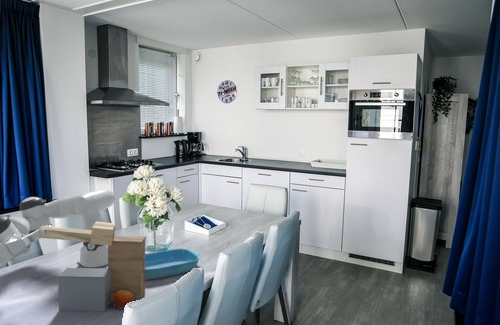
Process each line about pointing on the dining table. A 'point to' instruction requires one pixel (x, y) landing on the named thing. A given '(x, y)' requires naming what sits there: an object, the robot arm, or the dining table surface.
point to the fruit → (122, 298)
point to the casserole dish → (169, 263)
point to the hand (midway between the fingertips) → (48, 229)
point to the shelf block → (127, 265)
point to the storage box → (84, 289)
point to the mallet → (83, 233)
